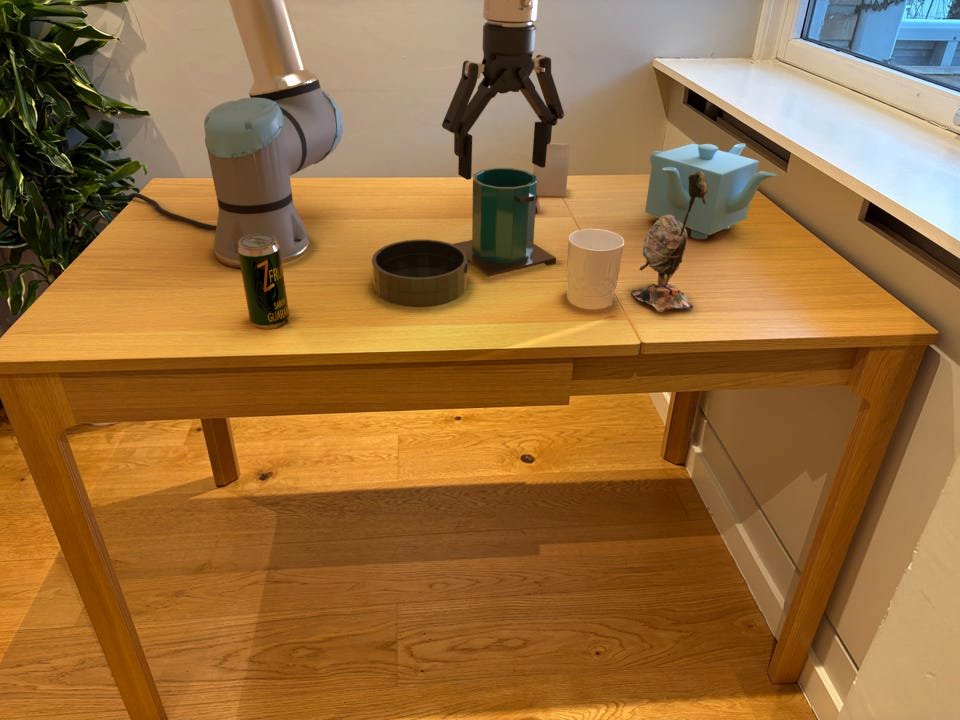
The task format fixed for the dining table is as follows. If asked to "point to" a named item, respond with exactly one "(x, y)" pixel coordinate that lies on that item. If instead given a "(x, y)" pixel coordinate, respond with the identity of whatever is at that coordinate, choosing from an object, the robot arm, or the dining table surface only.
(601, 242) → the white cup
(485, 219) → the pot
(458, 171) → the robot arm
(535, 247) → the trivet
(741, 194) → the teakettle
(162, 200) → the dining table surface
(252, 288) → the green soda can
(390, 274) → the pan
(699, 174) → the brown figurine
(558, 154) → the white upright block
